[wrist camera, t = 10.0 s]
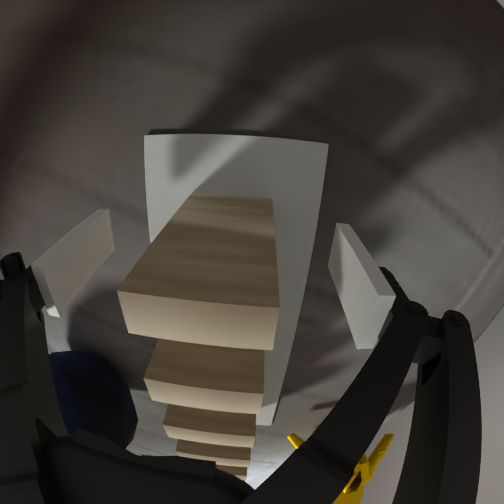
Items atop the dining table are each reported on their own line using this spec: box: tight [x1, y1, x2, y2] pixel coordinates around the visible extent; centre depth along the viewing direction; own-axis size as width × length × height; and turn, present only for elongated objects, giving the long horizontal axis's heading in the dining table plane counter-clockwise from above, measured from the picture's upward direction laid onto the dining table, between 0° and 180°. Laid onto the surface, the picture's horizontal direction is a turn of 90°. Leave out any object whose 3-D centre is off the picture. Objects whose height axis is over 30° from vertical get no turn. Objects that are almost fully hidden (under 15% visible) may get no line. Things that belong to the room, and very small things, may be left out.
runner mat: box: [144, 134, 329, 425], centre depth 25 cm, size 12×35×1 cm, turn 176°
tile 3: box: [176, 439, 251, 467], centre depth 21 cm, size 2×5×11 cm, turn 86°
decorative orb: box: [49, 351, 138, 449], centre depth 24 cm, size 14×15×15 cm
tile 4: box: [163, 403, 256, 448], centre depth 19 cm, size 2×5×11 cm, turn 87°
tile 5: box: [143, 338, 264, 414], centre depth 16 cm, size 2×5×11 cm, turn 86°
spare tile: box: [117, 193, 280, 350], centre depth 14 cm, size 2×5×11 cm, turn 86°
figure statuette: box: [287, 430, 394, 504], centre depth 24 cm, size 18×8×22 cm, turn 73°
